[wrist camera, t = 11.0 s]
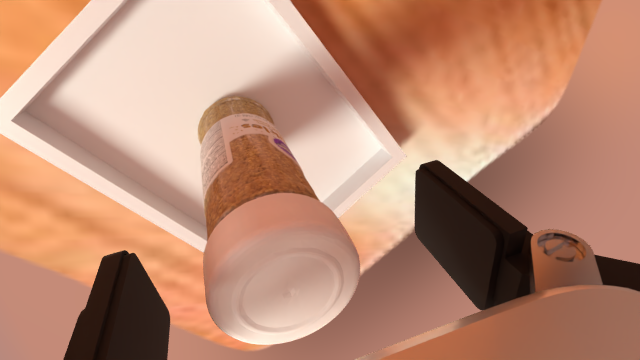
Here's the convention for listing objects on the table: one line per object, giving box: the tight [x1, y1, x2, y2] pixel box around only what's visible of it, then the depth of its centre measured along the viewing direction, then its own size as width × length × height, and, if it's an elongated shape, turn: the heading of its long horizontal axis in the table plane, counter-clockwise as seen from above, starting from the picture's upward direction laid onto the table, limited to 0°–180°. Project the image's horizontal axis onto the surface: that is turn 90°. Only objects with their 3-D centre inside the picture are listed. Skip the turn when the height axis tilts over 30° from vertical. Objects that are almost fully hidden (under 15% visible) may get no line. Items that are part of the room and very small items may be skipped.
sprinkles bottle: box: [198, 96, 360, 345], centre depth 15 cm, size 5×5×13 cm
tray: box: [0, 0, 407, 253], centre depth 20 cm, size 18×14×2 cm
